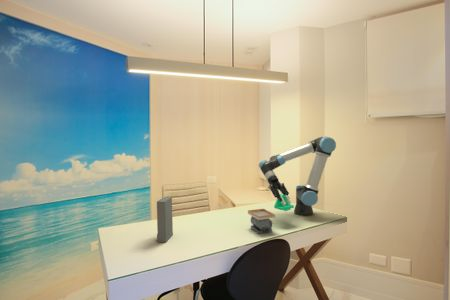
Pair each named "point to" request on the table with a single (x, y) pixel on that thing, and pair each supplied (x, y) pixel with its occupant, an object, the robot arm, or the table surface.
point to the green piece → (280, 206)
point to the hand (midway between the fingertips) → (287, 204)
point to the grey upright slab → (164, 219)
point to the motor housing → (261, 220)
